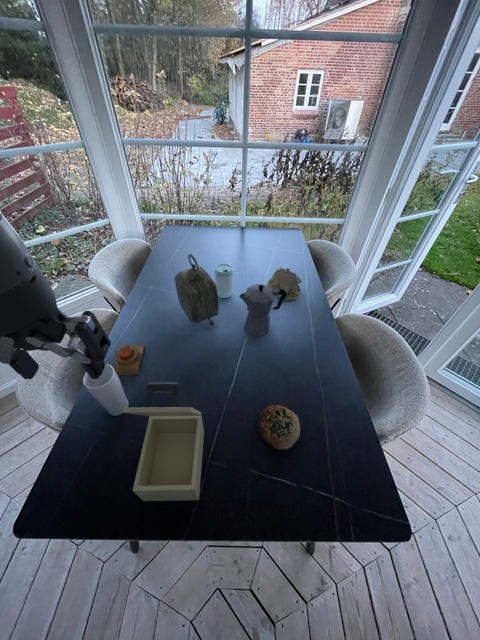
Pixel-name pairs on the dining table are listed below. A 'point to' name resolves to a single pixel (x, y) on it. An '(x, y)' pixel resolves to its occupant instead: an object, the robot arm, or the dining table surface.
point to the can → (224, 280)
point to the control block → (129, 361)
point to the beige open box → (171, 459)
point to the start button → (126, 353)
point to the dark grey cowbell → (197, 293)
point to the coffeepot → (260, 307)
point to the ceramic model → (286, 283)
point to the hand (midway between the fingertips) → (66, 373)
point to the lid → (163, 410)
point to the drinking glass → (107, 390)
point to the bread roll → (279, 427)
